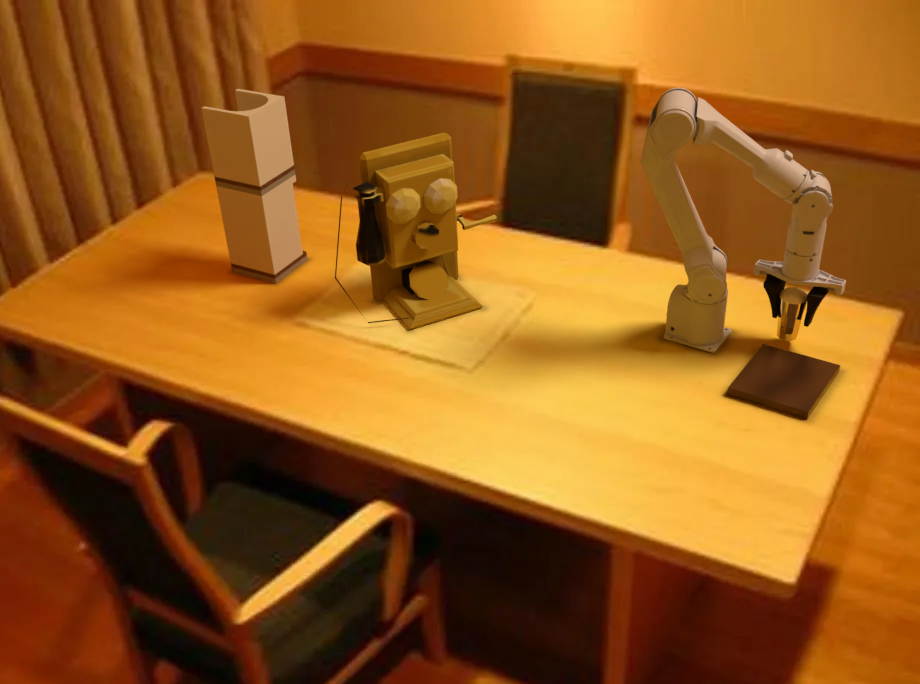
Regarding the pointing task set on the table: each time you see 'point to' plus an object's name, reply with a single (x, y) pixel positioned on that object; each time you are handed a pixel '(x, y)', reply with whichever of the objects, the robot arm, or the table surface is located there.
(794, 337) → the milkshake
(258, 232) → the scooped banded pillar
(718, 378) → the table surface
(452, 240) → the vintage telephone
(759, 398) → the board
